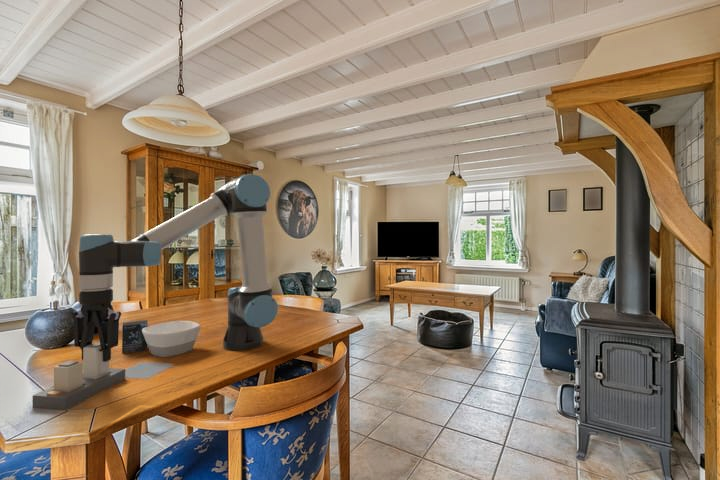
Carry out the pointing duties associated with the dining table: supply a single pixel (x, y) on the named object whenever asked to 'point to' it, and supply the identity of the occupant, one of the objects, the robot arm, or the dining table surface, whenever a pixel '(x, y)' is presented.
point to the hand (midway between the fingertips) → (96, 371)
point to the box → (133, 336)
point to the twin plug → (68, 376)
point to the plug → (91, 362)
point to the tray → (146, 370)
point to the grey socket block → (77, 392)
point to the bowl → (171, 337)
